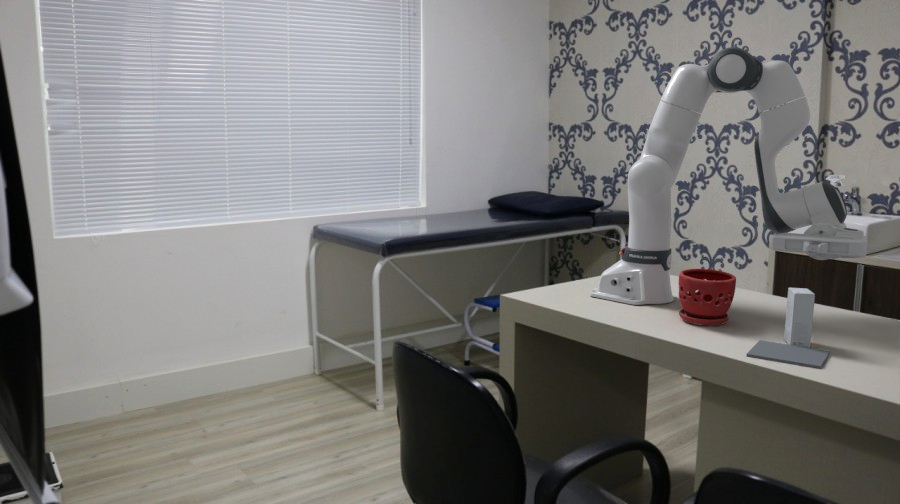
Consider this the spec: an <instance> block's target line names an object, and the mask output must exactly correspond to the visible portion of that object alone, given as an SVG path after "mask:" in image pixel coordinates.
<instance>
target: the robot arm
mask: <svg viewBox="0 0 900 504" xmlns="http://www.w3.org/2000/svg"><path fill="white" fill-rule="evenodd" d="M743 91H744V92H747V93H748V94H750V96H751V97H752V98H753V101H754V102H755V105H756V108H757V111H758V113H759V117H760V130H759V133H758V135H756V137H755V138H754V141H753V142H754V146H753V149H754V158H755V166H756V167H755V168H756V173H757V179H758V186H759V192H760V198H761V199H760V200H761V213H762V214H761V215H762V220H763V223H764V225H765V227H766V228H767V229H768V230H769V231H771V232H773V233H774V234H772V235H771V236H770V241H769V242H770V245H769V247H770V250H771V251H775V252H791V253H802V254H806V255H807V256H808V257H810V258H812V259H813V260H818V261H827V260H834V259H860V258H866V256H867V249H868V238H867V236H866V235H865V231H863V230H862V229H855V228H849V227H847V224H846V222H845V221H846V219H847V217H848V209H847V206H846V202H845V199H844V197H843V195H842V193H841V191H840V190H839V188H837V187H836V186H835V185H833V184H831V183H829V182H827V181H820V182H817V183H812V184H810V185H807V186H806V185H805V186H803V187H801V188H797V189H794V190H790V191H787V192H780V191H779V184H778V179H777V178H778V177H777V171H776V165H775V163H776V158H777V156H778V154H779V153H780V152H781V151H782V150H783V149H784V148H785V147H786V146H788V145H789V144H790V143H792V142H793V141H795V139H797V138H798V137H799V136H800V135H801V134H802V133H804V131H805V130H806V128H807V127H808V125H809V123H810V120H811V111H810V107H809V104H808V100H807V98H806V94H805V91H804V89H803V87H802V85H801V82H800V81H799V78H798V77H797V75H796V73H795V71H794V70H793V67H791V65H790V63H789V62H786V61H784V60H780V59H779V60H778V59H777V60H771V61H768V62H765V63H762V62H761V61H760V60H759V59H758V58H756V57H755V56H754V55H752V54H751V53H750V52H748V51H747V50H745V49H743V48H740V47H736V46H735V47H734V46H732V47H726V48H723V49H721V50H719V51H718V52H716V53H715V55H714V56H713V57H712V58H711V60H710V61H709V63H708V64H706V65H699V64H695V63H685V64H682V65H680V66H679V67H677V69H676V70H675V71H674V73H673V75H672V76H671V78H670V80H669V81H668V84H667V85H666V87H665V89H664V91H663V94H662V95H661V98H660V101H659V103H658V106H657V108H656V110H655V112H654V116H653V118H652V120H651V123H650V125H649V128H648V131H647V136H646V140H645V143H644V145H643V149H642V150H641V151H642V152H641V154H640V157H639V159H637V160H636V161H635V162H634V163H633V164H632V165H631V166H630V168H629V170H628V174H627V203H628V204H627V205H628V216H629V217H628V218H629V219H628V221H629V222H628V223H629V224H628V239H627V240H628V242H627V244H628V245H626V246H625V247H624V248H621V250H619V254H618V255H620V257H621V258H620V260H618V261H617V262H615V263H614V264H612V265H611V266H609V267H608V268H606V269H605V270H603V272H602V273H601V275H600V278H599V281H598V285H597V286H596V287H594V288H592V289H591V290H590V291H589V297H594V298H598V299H603V300H607V301H612V302H618V303H619V302H620V303H622V304H623V303H624V304H628V305H634V306H641V305H658V304H659V305H661V304H667V303H672V302H673V301H674V295H673V291H672V285H671V274H670V273H671V269H672V260H673V258H672V257H673V256H672V248H671V235H672V234H671V233H672V201H671V200H672V198H671V197H672V194H671V193H672V192H671V191H672V188H673V187H674V184H675V182H676V180H677V177H678V174H679V172H680V170H681V167H682V165H683V162H684V159H685V157H686V154H687V150H688V147H689V145H690V143H691V141H692V137H693V135H694V134H695V130H696V128H697V126H698V123H699V122H700V121H699V120H700V118H701V116H702V114H703V111H704V109H705V106H706V104H707V103H708V102H707V101H708V100H709V99H710V97H711V96H712V95H713V94H714V93H724V94H735V93H739V92H743ZM805 227H808V228H807V229H805V231H804V232H803V233H794V232H793V231H796V230H798V229H802V228H805Z"/></svg>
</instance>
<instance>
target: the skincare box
mask: <svg viewBox="0 0 900 504" xmlns="http://www.w3.org/2000/svg"><path fill="white" fill-rule="evenodd" d="M787 289H788V290H787V299H786V300H787V301H786V311H785V323H784V324H785V325H784V333H783V334H784V337H783V340H784V341H785V342H786V343H787V344H788V345H795V346H801V347H807V348H811V343H812V332H813V322H814V321H813V320H814V310H815V309H814V308H815V300H816V299H815V298H816V296H815V295H816V293H814V292H813V291H812V290H810V289H809V288H804V287H803V288H802V287H801V288H800V287H788V288H787Z"/></svg>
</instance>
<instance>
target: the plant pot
mask: <svg viewBox="0 0 900 504" xmlns="http://www.w3.org/2000/svg"><path fill="white" fill-rule="evenodd" d="M736 286H737V277H736V275H734V274H733V273H730V272H726V271H721V270H717V269H709V268H708V269H707V268H688V269H684V270H683V269H682V270H681V271H680V272H679V274H678V298H679V304H680V306H681V309H679V310H678V315H679V317H680V318H681V319H682V320H683V321H685V322H687V323H689V324H692V325H696V326H697V325H698V326H706V327H709V326H710V327H711V326H712V327H713V326H720V325H723V324H725V323H726V322H728V321H729V317H730V316H729V314H728V311H729V310H730V308H731V306H732V304H733V300H734V297H735V294H736V293H735V292H736Z"/></svg>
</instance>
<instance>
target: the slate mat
mask: <svg viewBox="0 0 900 504" xmlns="http://www.w3.org/2000/svg"><path fill="white" fill-rule="evenodd" d="M830 353H831V351H830V350H825V349H818V348H814V347H813V348H811V347H810V348H807V347H801V346H795V345H789V344H788V343H787V344H786V343H781V342H775V341H769V340H768V341H767V340H761V339H760V340H758V341H757V342H756V343H755V345H753V347H751V348H750V349H749V350H748V352H747V353H745V354H746V357H749V358H756V359H761V360H766V361H767V360H768V361H773V362H778V363H785V364H790V363H791V365H796V364H797V365H798V366H802V365H803V366H802V367H809V368H815V369H822V367H823V365H824V364H825V362H826V361H827V358H829V355H830Z"/></svg>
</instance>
